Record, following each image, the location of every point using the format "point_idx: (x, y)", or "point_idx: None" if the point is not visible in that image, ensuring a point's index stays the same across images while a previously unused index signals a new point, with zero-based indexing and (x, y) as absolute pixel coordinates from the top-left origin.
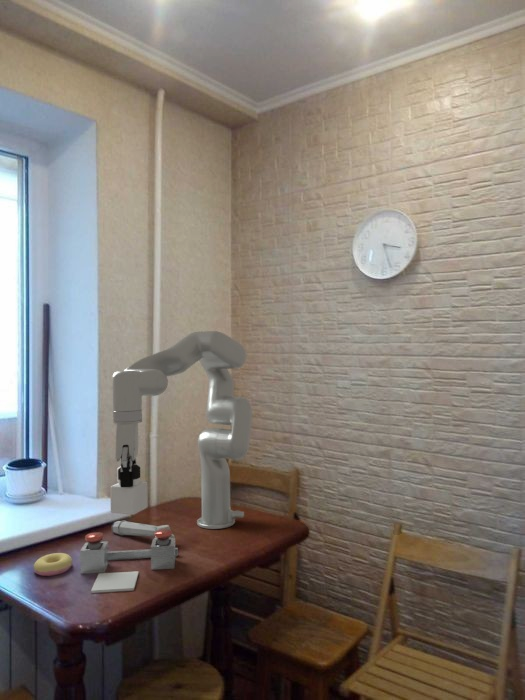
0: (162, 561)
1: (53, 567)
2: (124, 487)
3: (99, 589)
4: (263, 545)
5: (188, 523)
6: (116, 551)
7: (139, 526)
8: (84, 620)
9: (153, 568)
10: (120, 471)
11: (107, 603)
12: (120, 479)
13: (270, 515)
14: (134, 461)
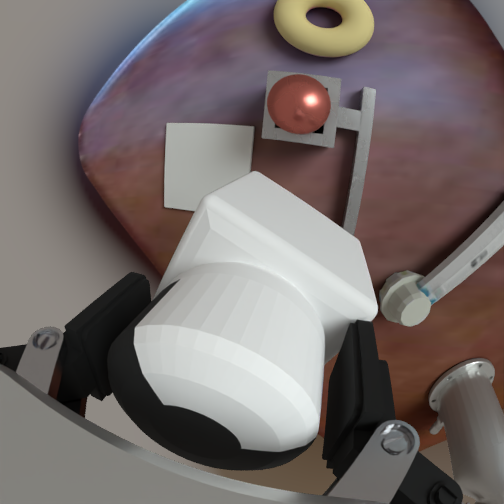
0: None
1: (276, 20)
2: (158, 290)
3: (168, 139)
4: None
5: (494, 342)
6: (361, 169)
7: (477, 249)
8: (88, 136)
9: None
10: (74, 331)
11: (127, 161)
12: (103, 295)
13: (435, 443)
14: (331, 486)
